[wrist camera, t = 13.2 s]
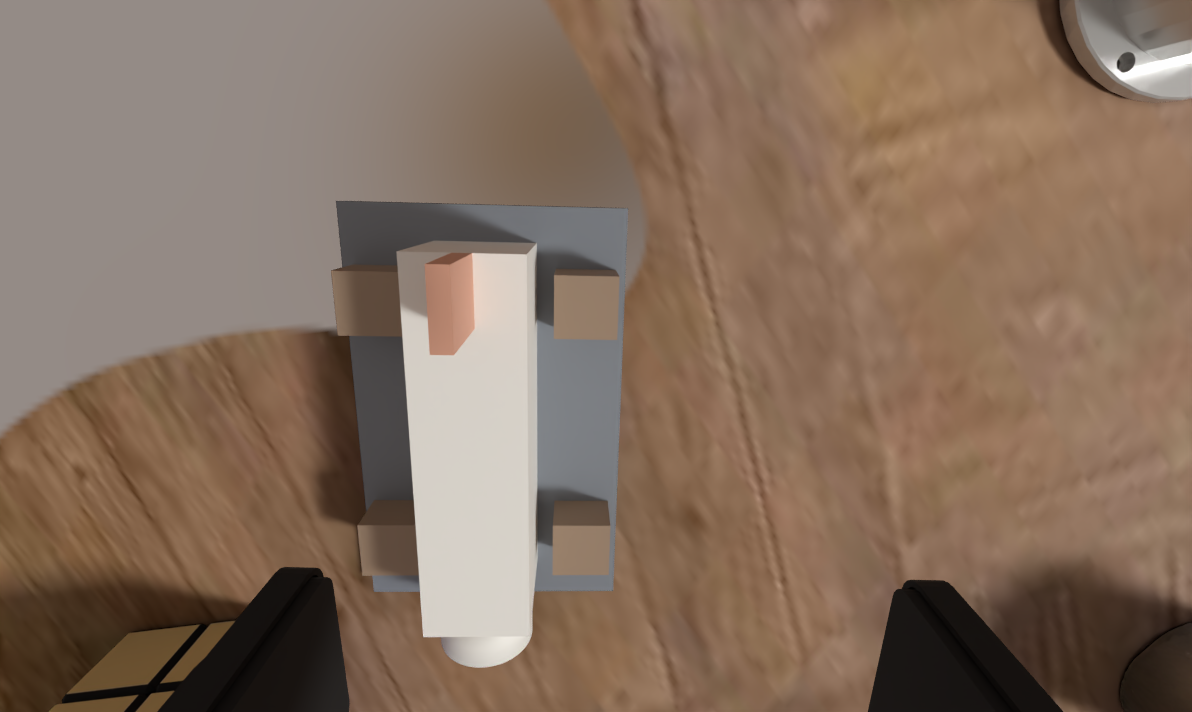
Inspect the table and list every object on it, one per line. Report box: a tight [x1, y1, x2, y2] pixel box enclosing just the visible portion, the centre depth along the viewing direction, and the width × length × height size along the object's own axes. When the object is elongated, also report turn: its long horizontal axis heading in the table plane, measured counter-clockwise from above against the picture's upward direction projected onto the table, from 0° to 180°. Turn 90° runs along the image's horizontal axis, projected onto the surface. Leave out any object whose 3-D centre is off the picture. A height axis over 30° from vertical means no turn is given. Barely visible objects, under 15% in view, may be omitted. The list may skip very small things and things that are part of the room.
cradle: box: [331, 201, 628, 592], centre depth 29 cm, size 22×14×4 cm, turn 179°
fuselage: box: [396, 241, 538, 668], centre depth 25 cm, size 20×5×10 cm, turn 178°
